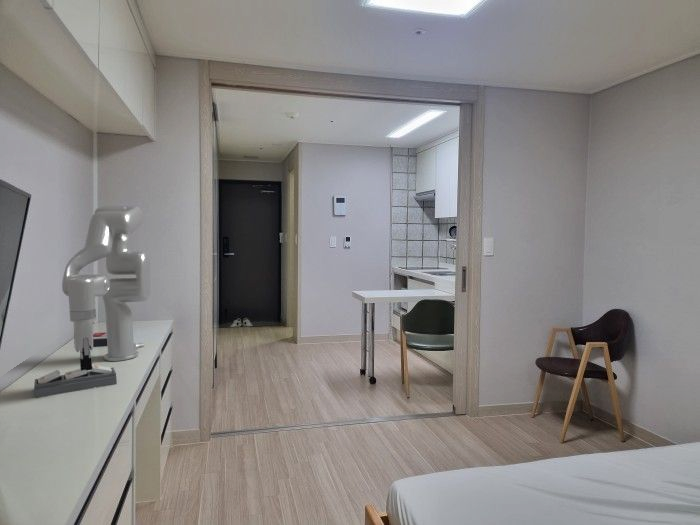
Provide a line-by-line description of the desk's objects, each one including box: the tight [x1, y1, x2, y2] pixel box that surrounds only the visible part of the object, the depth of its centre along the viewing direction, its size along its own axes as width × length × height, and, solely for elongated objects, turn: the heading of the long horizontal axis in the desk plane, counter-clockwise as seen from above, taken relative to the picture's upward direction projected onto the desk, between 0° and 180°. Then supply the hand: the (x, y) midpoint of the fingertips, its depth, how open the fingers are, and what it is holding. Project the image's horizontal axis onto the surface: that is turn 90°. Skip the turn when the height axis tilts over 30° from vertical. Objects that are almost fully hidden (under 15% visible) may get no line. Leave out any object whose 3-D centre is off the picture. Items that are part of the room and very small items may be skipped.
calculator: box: [93, 331, 107, 348], centre depth 221 cm, size 11×4×15 cm
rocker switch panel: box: [33, 367, 118, 398], centre depth 162 cm, size 23×9×4 cm, turn 122°
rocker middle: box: [64, 367, 87, 380], centre depth 161 cm, size 6×4×1 cm
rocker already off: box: [90, 364, 112, 374], centre depth 165 cm, size 6×4×1 cm
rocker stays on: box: [37, 369, 61, 384], centre depth 157 cm, size 6×4×1 cm
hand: (86, 369), depth 163 cm, fingers closed
